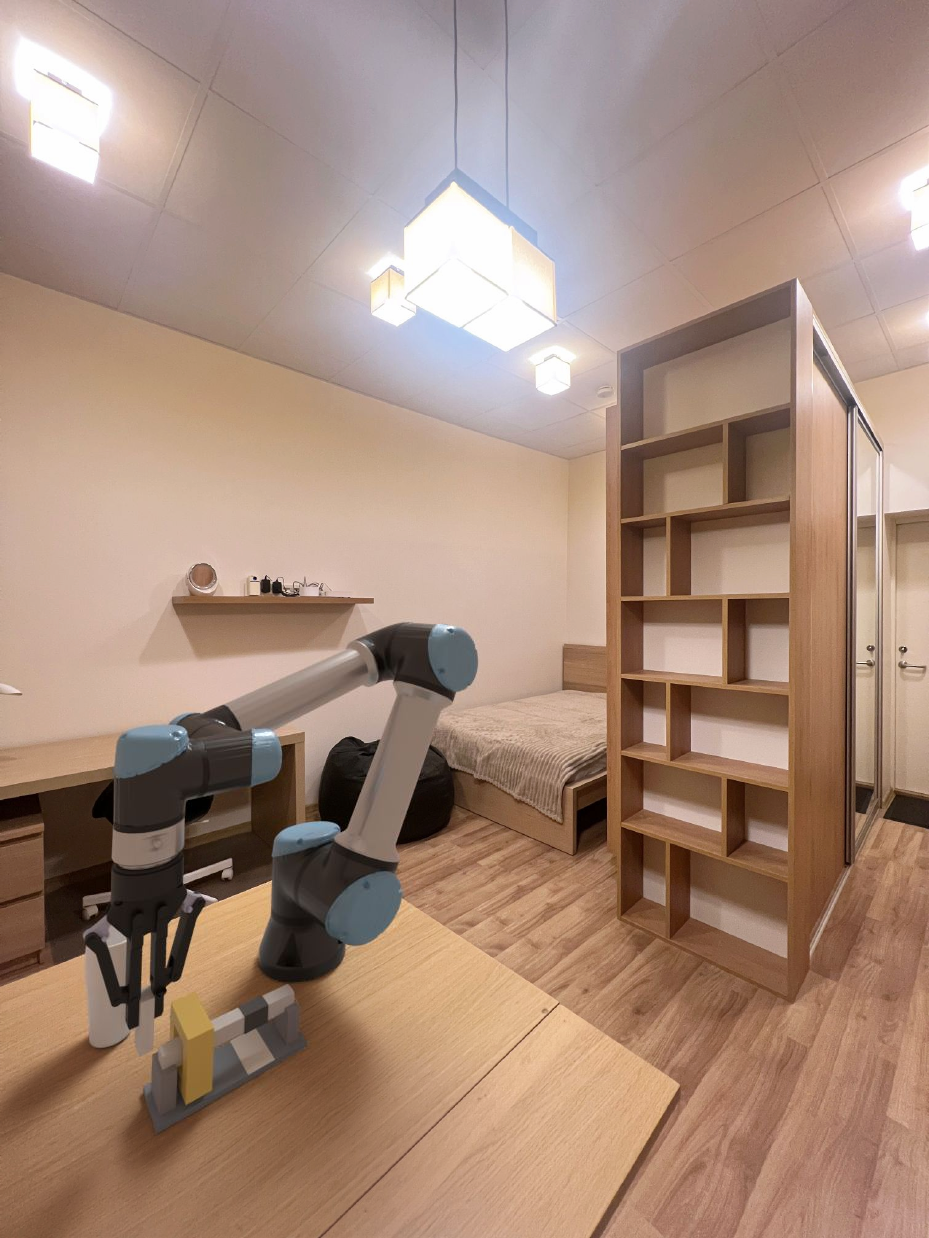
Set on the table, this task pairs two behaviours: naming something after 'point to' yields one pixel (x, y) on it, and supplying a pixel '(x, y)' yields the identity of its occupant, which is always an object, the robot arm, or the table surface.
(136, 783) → the robot arm
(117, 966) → the white cup
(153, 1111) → the rail
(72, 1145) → the table surface
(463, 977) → the table surface
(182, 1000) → the collar
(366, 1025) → the table surface
